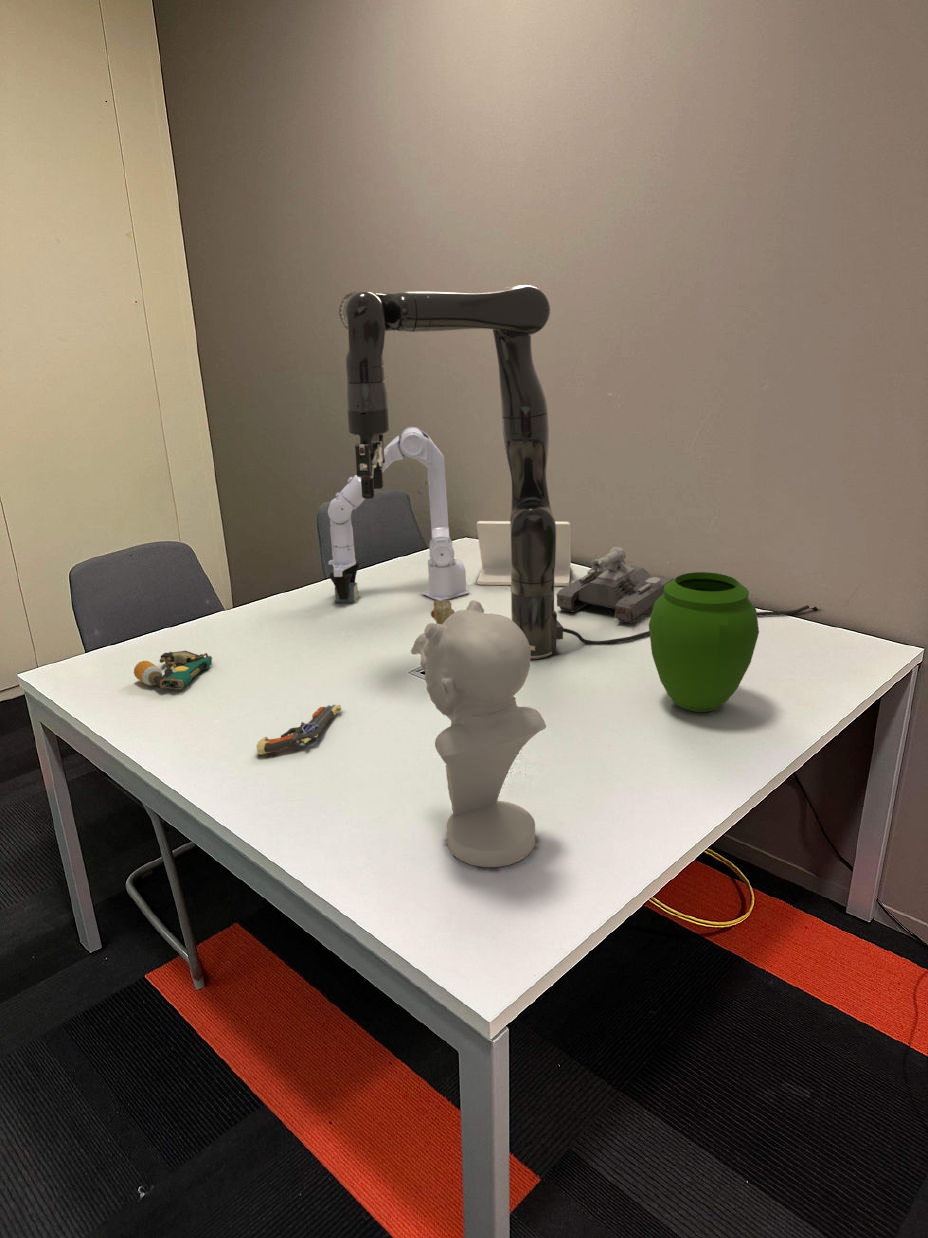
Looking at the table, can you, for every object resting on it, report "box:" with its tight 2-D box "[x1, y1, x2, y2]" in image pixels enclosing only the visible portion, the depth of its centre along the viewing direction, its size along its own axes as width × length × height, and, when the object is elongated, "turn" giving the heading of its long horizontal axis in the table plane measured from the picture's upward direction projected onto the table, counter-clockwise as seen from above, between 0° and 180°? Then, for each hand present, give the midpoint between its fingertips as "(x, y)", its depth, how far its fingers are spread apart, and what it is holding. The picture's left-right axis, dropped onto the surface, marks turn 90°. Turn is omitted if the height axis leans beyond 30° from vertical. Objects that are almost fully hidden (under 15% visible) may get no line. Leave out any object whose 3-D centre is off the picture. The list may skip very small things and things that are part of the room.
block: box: [334, 582, 359, 604], centre depth 223 cm, size 4×5×4 cm
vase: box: [648, 571, 760, 713], centre depth 157 cm, size 20×20×24 cm
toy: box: [556, 546, 675, 624], centre depth 212 cm, size 25×20×15 cm
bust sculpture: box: [410, 599, 547, 868], centre depth 121 cm, size 16×24×35 cm
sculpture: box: [430, 599, 456, 624], centre depth 177 cm, size 6×7×15 cm
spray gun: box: [133, 650, 213, 690], centre depth 180 cm, size 4×17×15 cm
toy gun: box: [256, 704, 342, 756], centre depth 155 cm, size 3×19×10 cm
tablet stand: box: [476, 520, 572, 587], centre depth 236 cm, size 18×25×17 cm
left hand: (346, 594), depth 223 cm, fingers open, 6 cm apart
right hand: (373, 493), depth 164 cm, fingers open, 8 cm apart
